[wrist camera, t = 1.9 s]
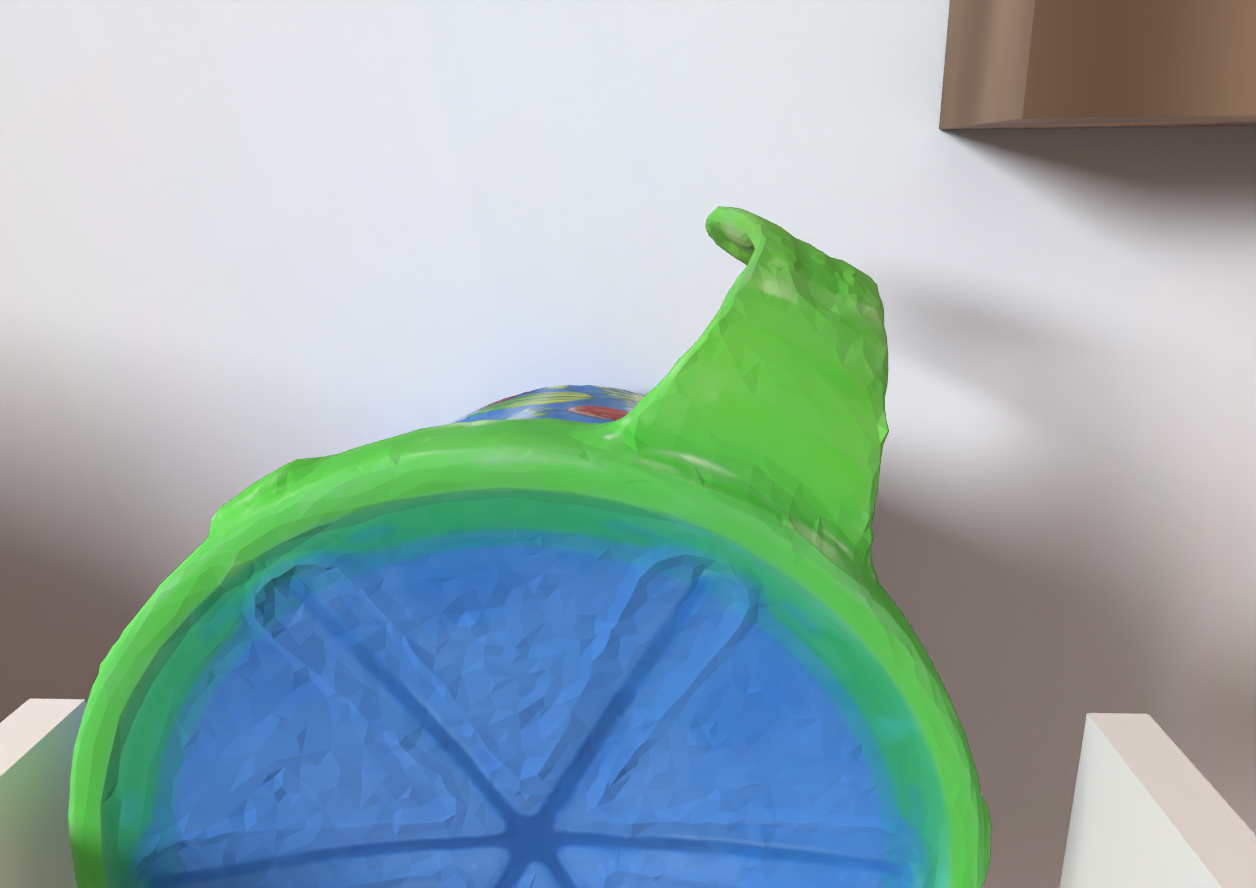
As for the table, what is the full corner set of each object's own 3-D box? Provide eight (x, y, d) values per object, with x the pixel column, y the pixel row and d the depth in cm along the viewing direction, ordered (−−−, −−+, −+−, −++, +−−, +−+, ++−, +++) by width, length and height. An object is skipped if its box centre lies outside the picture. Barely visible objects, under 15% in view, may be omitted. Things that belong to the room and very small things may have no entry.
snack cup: (576, 82, 17) (481, -30, 7) (1002, 386, 19) (1387, 625, 9) (213, 676, 21) (-159, 1111, 11) (589, 886, 23) (544, 1427, 13)
